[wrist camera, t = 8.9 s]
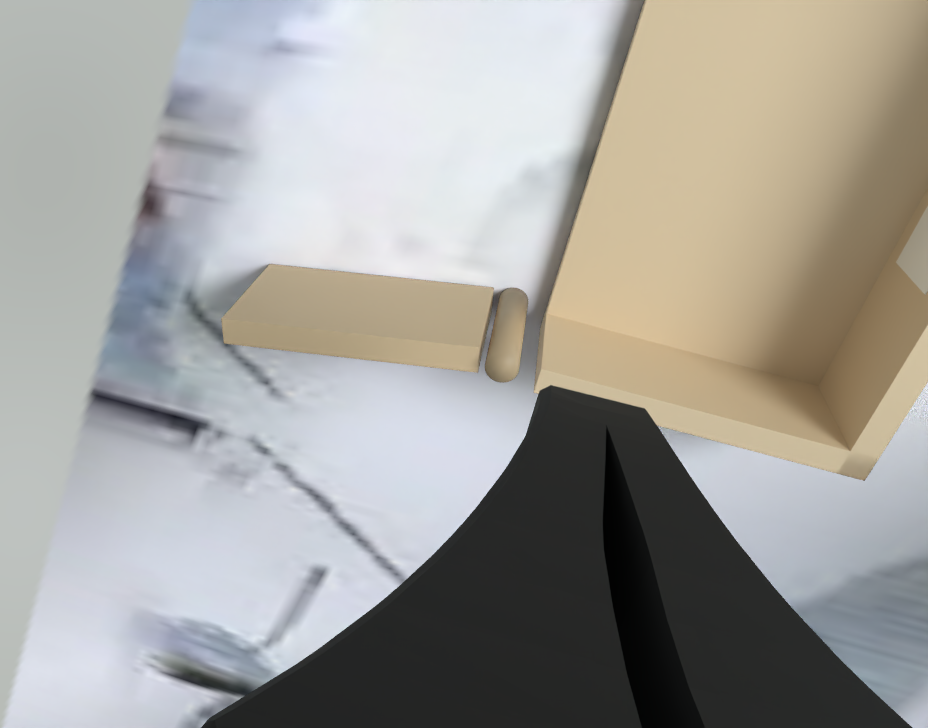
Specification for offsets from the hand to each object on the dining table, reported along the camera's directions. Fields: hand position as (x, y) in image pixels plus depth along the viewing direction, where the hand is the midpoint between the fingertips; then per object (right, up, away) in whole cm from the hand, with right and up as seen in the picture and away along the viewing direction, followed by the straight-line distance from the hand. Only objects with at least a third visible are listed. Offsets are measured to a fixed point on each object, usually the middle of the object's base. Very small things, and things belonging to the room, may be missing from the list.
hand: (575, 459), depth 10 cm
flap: (-3, +3, +9) cm, 10 cm away
